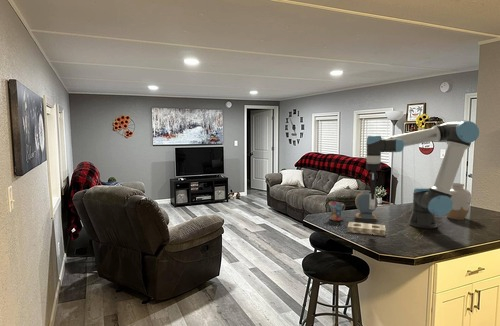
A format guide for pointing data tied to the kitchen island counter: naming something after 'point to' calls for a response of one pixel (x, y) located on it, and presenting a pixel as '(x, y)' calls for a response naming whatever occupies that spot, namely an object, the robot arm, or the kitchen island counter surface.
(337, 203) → the mug
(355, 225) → the hole block
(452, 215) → the vase
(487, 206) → the kitchen island counter surface
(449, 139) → the robot arm
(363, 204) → the alarm clock
